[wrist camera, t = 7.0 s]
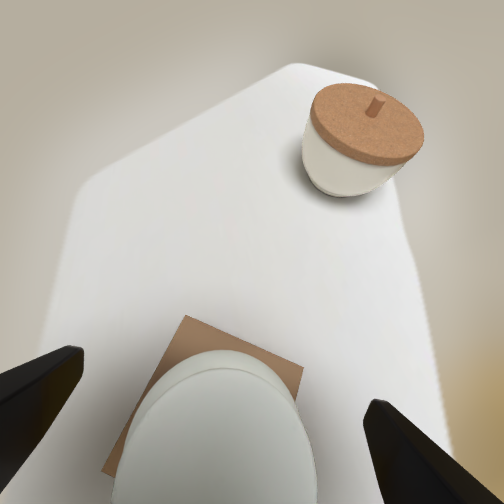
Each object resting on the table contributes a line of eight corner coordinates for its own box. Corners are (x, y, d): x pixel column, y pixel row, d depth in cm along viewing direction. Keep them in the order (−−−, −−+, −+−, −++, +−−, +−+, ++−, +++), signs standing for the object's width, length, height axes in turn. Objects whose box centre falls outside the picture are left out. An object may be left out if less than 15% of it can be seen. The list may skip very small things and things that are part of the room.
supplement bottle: (244, 348, 15) (287, 305, 7) (280, 450, 13) (410, 579, 4) (153, 385, 13) (55, 391, 5) (176, 507, 11) (78, 874, 3)
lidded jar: (307, 135, 32) (339, 51, 24) (383, 169, 31) (444, 94, 23) (275, 186, 27) (303, 101, 19) (364, 229, 26) (435, 159, 18)
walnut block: (246, 508, 15) (257, 548, 11) (126, 450, 15) (100, 471, 11) (286, 370, 18) (303, 367, 15) (190, 327, 19) (185, 314, 15)
